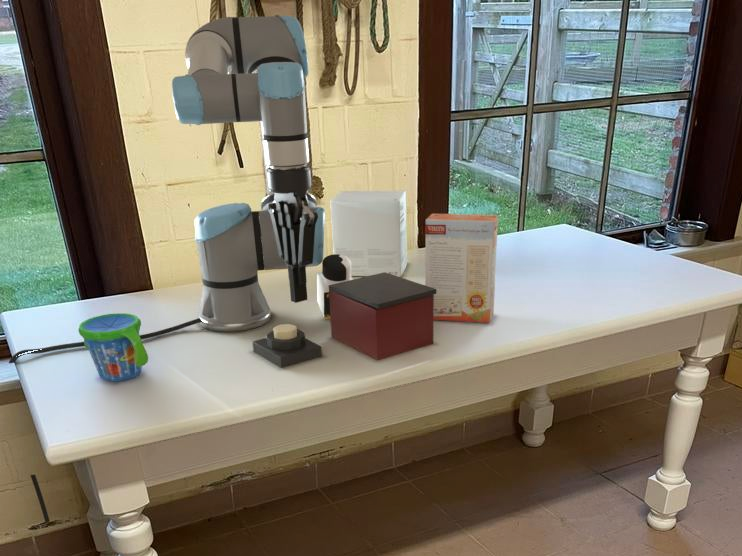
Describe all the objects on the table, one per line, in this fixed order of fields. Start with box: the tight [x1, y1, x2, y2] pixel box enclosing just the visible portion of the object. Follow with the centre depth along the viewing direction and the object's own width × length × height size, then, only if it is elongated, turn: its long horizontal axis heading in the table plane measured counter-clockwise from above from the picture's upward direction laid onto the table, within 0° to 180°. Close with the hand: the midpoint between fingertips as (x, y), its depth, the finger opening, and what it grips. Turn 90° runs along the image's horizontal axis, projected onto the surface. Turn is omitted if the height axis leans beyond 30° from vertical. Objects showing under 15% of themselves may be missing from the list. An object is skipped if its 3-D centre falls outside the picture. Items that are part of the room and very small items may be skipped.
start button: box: [272, 323, 298, 340], centre depth 151 cm, size 4×4×2 cm
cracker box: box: [424, 213, 499, 324], centre depth 163 cm, size 14×6×21 cm, turn 74°
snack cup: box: [78, 312, 149, 383], centre depth 144 cm, size 16×10×10 cm
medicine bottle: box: [316, 253, 354, 320], centre depth 168 cm, size 7×7×12 cm
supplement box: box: [329, 189, 408, 278], centre depth 196 cm, size 17×13×18 cm
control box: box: [251, 328, 323, 369], centre depth 152 cm, size 11×9×4 cm
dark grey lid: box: [329, 272, 436, 309], centre depth 152 cm, size 17×14×1 cm
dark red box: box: [329, 290, 435, 361], centre depth 156 cm, size 16×14×10 cm
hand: (299, 300), depth 148 cm, fingers closed
